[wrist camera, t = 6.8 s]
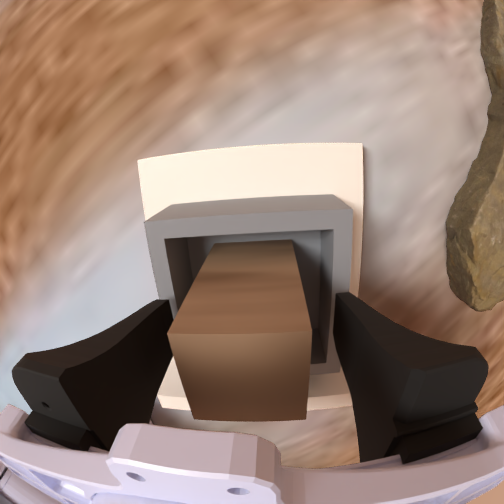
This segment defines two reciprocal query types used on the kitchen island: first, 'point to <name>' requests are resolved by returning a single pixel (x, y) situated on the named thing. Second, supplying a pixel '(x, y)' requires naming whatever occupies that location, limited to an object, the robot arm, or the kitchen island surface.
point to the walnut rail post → (245, 335)
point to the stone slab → (482, 190)
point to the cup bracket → (261, 232)
